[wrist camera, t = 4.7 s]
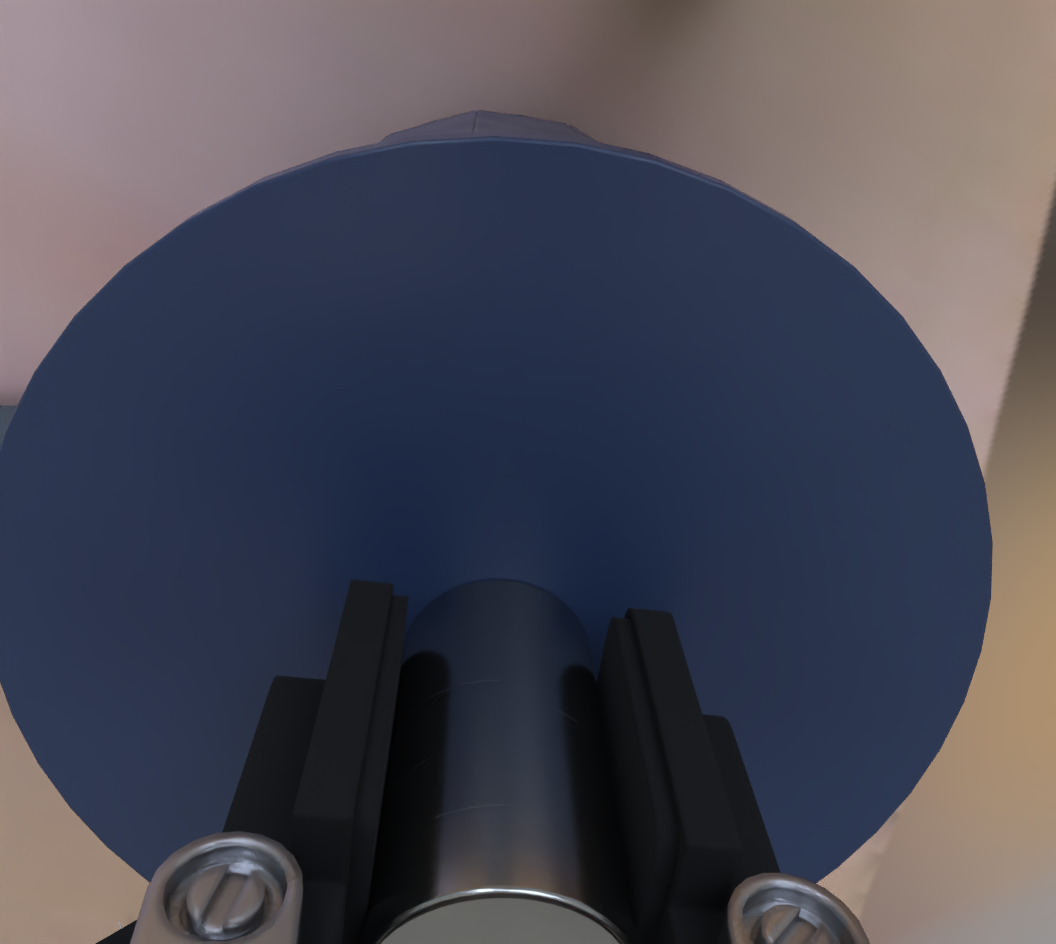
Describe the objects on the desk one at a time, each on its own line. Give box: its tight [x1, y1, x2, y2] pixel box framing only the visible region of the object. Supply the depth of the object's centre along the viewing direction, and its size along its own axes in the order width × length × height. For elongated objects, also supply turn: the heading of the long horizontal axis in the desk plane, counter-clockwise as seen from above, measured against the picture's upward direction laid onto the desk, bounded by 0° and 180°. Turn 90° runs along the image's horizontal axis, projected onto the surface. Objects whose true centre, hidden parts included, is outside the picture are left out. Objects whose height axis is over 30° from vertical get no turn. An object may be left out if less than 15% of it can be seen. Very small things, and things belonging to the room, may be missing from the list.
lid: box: [0, 131, 992, 944], centre depth 11 cm, size 14×14×6 cm
